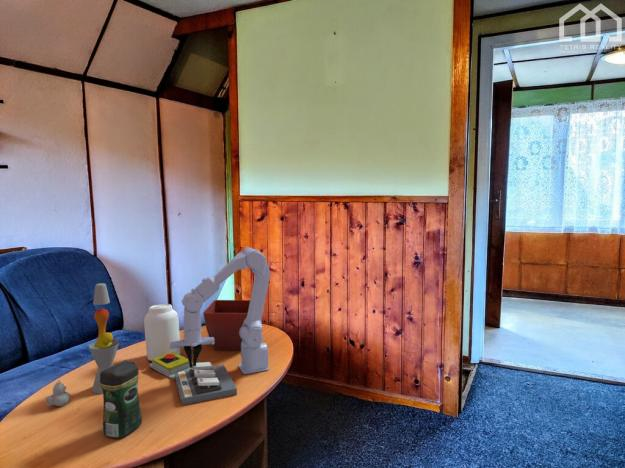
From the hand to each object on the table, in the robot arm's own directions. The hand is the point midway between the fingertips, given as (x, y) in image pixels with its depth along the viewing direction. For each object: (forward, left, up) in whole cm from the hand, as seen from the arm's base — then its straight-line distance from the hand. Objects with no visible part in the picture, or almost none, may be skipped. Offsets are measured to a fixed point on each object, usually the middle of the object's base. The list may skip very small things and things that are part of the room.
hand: (192, 366), depth 147 cm
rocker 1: (-3, 0, -1) cm, 3 cm away
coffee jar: (+22, +23, -5) cm, 33 cm away
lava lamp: (+27, -6, -5) cm, 28 cm away
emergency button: (+6, -12, -5) cm, 14 cm away
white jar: (+7, -24, -4) cm, 26 cm away
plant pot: (-20, -27, -5) cm, 34 cm away
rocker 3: (-3, +13, -1) cm, 13 cm away
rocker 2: (-3, +6, -1) cm, 7 cm away
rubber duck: (+40, +1, -5) cm, 40 cm away
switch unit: (-3, +6, -5) cm, 9 cm away
